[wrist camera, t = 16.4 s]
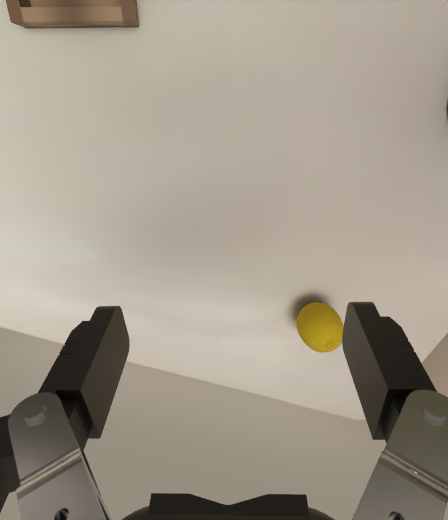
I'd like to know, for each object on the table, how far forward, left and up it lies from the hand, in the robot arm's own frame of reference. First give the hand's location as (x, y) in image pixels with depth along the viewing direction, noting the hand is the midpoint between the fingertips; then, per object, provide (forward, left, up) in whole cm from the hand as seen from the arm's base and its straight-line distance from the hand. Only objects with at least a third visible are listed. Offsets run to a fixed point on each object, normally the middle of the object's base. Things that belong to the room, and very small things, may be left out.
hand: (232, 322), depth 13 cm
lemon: (-14, +20, -30) cm, 39 cm away
